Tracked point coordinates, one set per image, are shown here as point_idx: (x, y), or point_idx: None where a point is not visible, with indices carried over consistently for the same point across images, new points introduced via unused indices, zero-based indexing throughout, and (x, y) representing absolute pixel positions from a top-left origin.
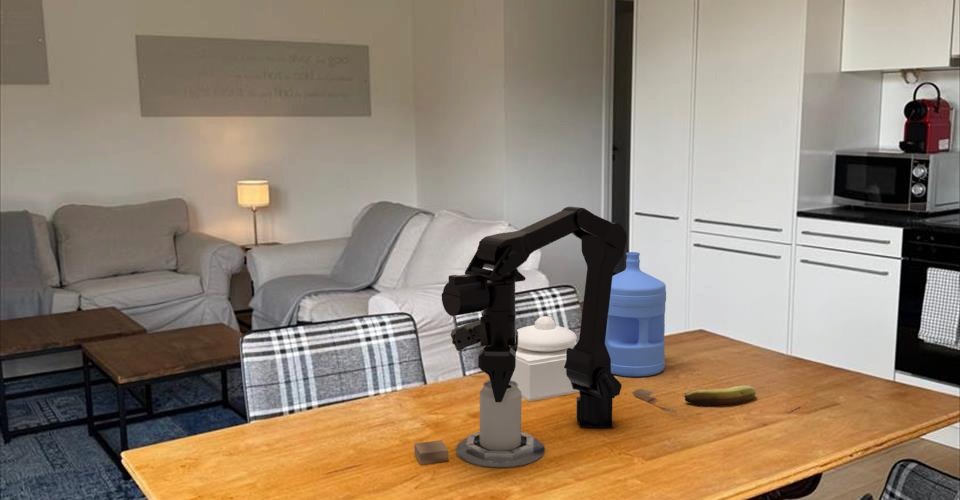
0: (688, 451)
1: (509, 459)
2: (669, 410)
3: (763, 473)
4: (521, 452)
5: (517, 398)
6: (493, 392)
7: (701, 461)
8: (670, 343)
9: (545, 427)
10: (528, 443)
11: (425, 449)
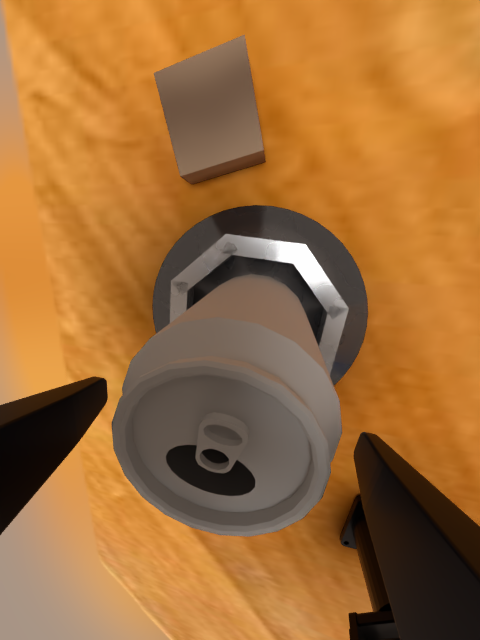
0: (221, 579)
1: None
2: None
3: (150, 606)
4: None
5: (169, 465)
6: (28, 398)
7: (186, 576)
8: None
9: (382, 437)
10: None
11: (188, 91)
